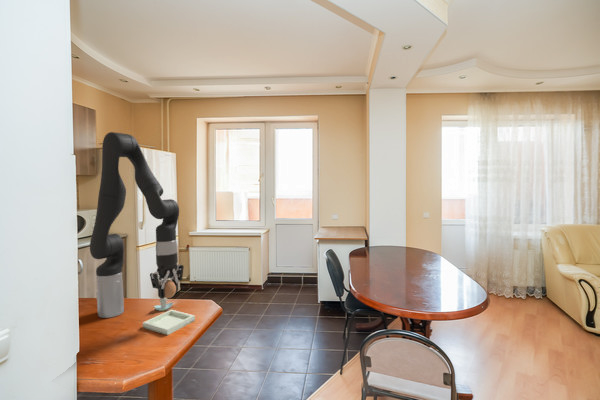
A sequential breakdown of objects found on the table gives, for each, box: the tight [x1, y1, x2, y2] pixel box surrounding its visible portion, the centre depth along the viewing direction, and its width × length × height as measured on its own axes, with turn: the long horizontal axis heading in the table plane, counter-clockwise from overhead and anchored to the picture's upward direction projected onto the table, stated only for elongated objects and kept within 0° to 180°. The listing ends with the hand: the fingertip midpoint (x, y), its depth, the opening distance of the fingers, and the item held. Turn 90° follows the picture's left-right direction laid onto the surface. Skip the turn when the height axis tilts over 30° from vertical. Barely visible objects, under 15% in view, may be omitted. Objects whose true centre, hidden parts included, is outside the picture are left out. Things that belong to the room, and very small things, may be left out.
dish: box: [142, 309, 196, 336], centre depth 122 cm, size 13×13×2 cm
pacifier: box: [153, 298, 174, 312], centre depth 136 cm, size 7×6×6 cm
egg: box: [164, 279, 176, 299], centre depth 121 cm, size 5×5×7 cm
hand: (168, 295), depth 121 cm, fingers closed on egg, 5 cm apart
